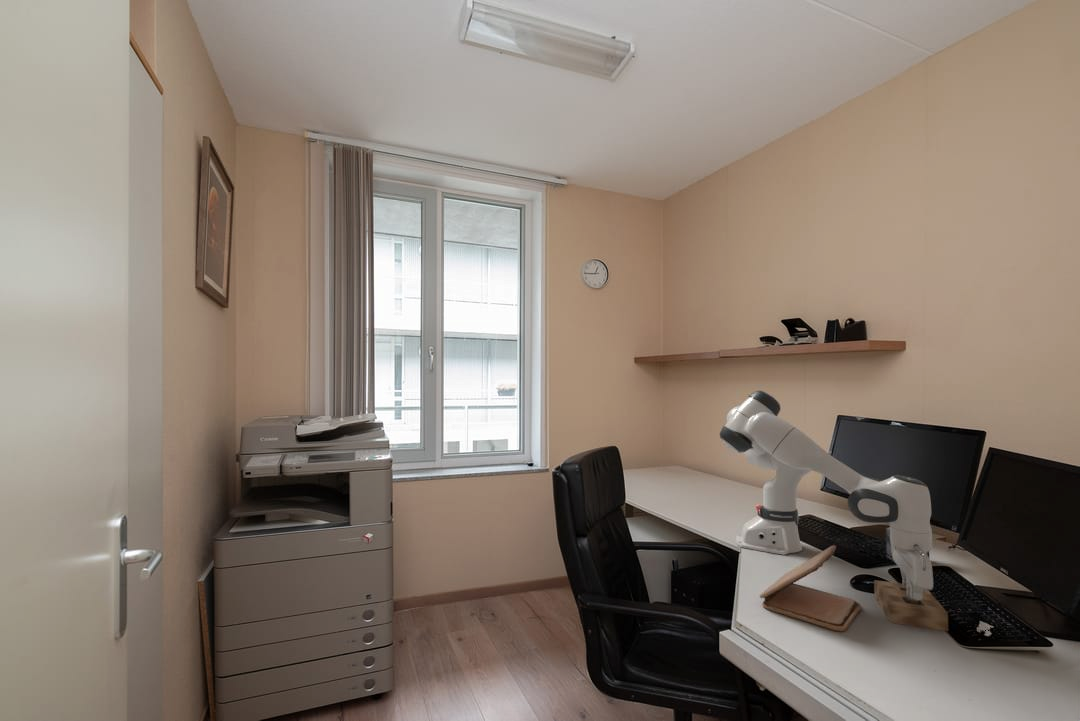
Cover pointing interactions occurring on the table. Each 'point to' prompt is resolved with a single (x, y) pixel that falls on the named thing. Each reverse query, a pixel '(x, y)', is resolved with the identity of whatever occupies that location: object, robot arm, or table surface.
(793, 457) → the robot arm
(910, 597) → the gauge pin
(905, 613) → the wooden flat block
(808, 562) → the case
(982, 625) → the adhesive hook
